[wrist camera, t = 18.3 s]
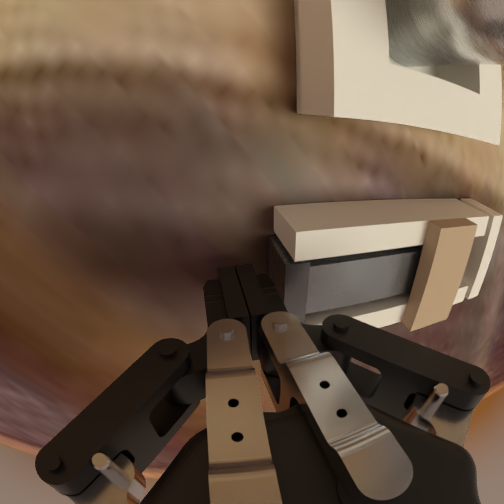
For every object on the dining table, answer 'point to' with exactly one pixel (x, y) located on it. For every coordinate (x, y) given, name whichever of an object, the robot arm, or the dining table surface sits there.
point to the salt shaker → (445, 32)
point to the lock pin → (340, 277)
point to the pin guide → (397, 236)
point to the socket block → (386, 75)
